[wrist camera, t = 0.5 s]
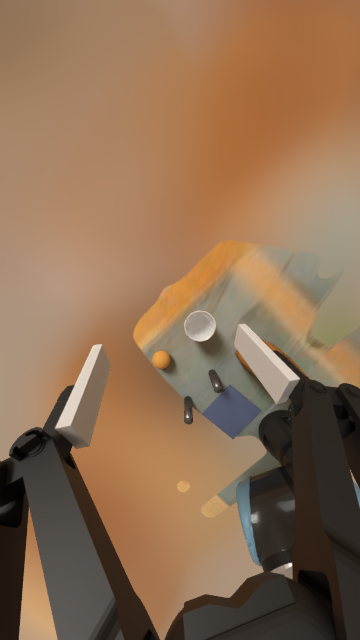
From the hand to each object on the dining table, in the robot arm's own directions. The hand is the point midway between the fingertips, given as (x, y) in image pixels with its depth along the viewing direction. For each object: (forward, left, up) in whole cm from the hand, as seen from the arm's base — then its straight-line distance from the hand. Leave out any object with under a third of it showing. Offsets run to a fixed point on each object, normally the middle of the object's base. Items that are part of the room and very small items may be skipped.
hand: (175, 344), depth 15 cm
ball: (-4, +14, -30) cm, 34 cm away
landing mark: (-34, +14, -33) cm, 49 cm away
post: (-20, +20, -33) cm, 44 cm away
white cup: (-5, -2, -33) cm, 34 cm away
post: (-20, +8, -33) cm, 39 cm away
